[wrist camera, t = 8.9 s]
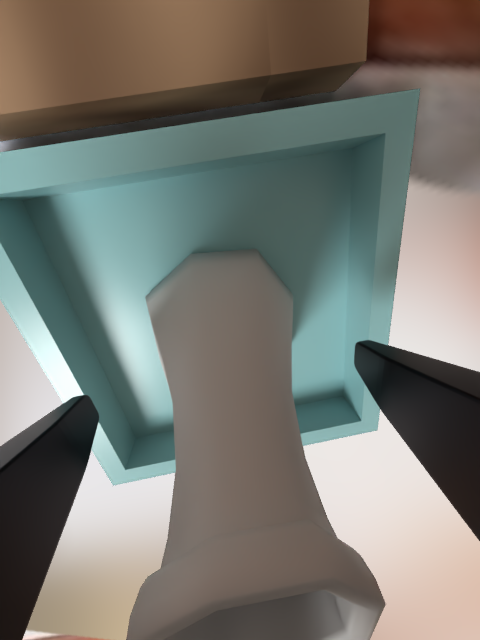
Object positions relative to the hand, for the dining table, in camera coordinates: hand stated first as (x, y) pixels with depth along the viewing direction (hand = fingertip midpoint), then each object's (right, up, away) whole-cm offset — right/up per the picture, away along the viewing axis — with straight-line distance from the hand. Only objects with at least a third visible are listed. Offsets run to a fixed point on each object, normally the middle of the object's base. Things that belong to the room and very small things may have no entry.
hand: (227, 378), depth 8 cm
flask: (0, +2, +4) cm, 5 cm away
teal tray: (0, +2, +4) cm, 5 cm away
